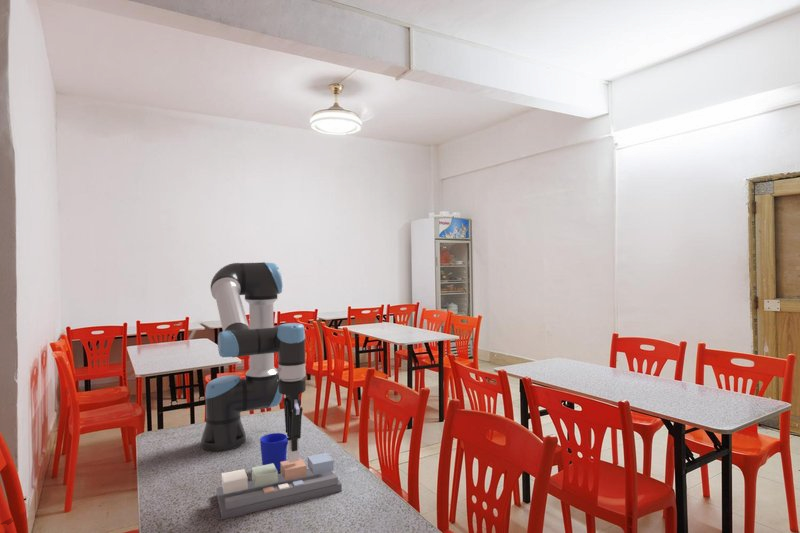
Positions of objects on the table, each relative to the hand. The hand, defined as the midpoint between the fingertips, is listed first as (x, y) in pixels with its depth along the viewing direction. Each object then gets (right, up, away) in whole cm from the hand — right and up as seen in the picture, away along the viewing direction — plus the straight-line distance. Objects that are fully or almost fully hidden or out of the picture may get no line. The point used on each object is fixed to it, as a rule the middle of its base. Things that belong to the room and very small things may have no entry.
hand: (293, 460), depth 136 cm
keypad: (-4, -9, -1) cm, 9 cm away
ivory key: (-14, -4, -7) cm, 16 cm away
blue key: (+7, -4, +4) cm, 9 cm away
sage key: (-7, -4, -3) cm, 9 cm away
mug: (-7, -9, +13) cm, 17 cm away
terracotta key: (0, -4, 0) cm, 4 cm away
